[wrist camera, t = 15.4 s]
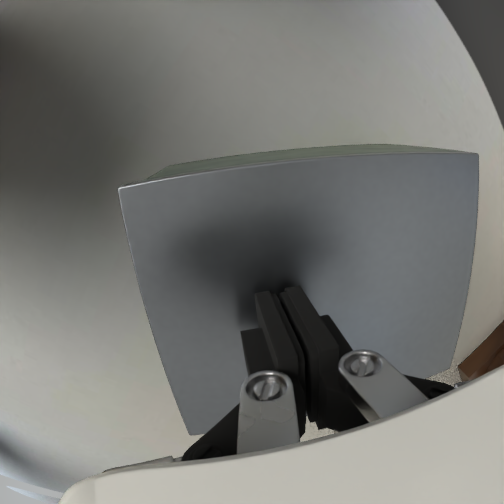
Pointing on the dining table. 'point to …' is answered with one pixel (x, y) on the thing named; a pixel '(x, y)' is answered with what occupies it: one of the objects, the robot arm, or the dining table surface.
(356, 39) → the dining table surface
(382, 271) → the tin lid
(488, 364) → the button block
